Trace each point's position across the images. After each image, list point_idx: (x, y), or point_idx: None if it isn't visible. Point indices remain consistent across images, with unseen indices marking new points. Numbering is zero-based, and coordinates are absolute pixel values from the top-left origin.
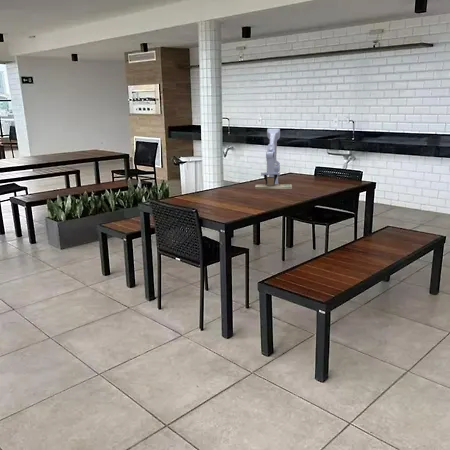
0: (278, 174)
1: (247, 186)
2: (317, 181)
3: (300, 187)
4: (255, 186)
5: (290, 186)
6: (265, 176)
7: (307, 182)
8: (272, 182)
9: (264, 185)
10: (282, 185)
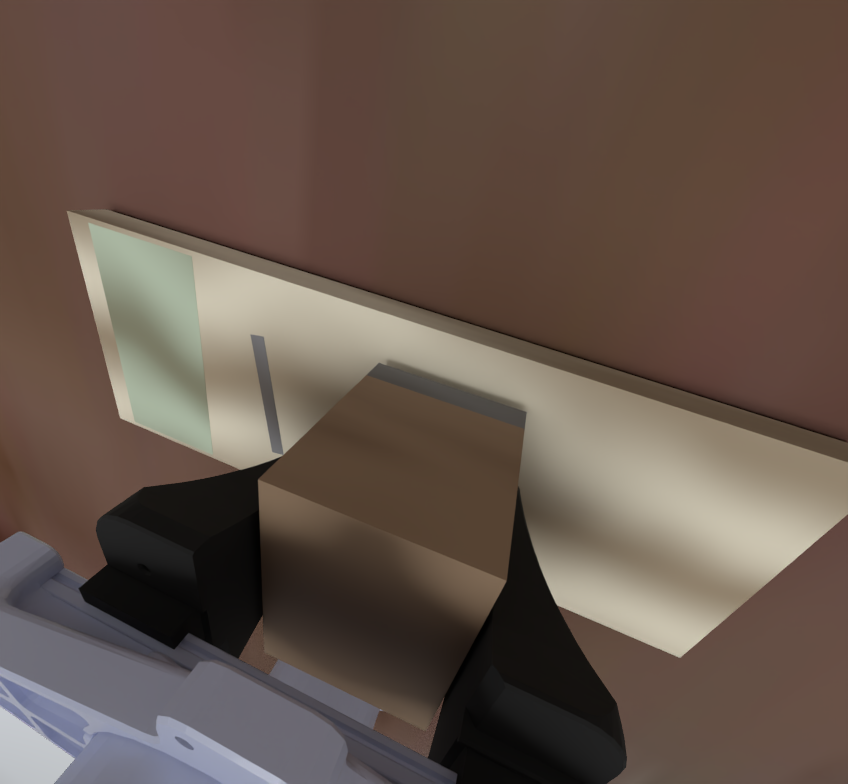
0: (35, 595)
1: (796, 705)
2: (6, 521)
3: (41, 312)
4: (812, 536)
5: (99, 263)
6: (562, 714)
7: (60, 525)
8: (374, 410)
9: (537, 533)
10: (230, 403)
